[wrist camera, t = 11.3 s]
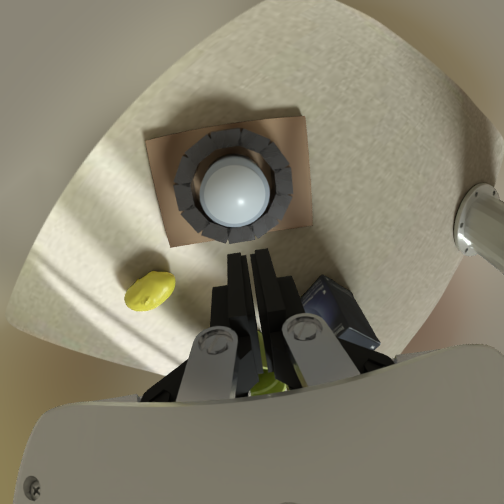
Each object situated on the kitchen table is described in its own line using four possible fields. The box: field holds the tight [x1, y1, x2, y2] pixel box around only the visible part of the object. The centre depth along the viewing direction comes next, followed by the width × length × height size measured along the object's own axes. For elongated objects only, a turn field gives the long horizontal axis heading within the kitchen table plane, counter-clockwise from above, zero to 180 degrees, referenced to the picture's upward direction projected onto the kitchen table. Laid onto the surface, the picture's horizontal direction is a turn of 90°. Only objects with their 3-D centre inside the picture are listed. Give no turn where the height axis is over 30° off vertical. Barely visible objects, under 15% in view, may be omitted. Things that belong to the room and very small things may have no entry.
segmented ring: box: [173, 127, 293, 244], centre depth 26 cm, size 11×11×2 cm
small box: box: [300, 275, 380, 351], centre depth 33 cm, size 11×6×10 cm, turn 145°
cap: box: [200, 154, 270, 227], centre depth 25 cm, size 6×6×5 cm
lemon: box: [124, 271, 175, 311], centre depth 31 cm, size 4×8×4 cm, turn 117°
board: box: [145, 116, 313, 248], centre depth 28 cm, size 16×12×1 cm
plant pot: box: [250, 330, 286, 396], centre depth 35 cm, size 9×9×9 cm
